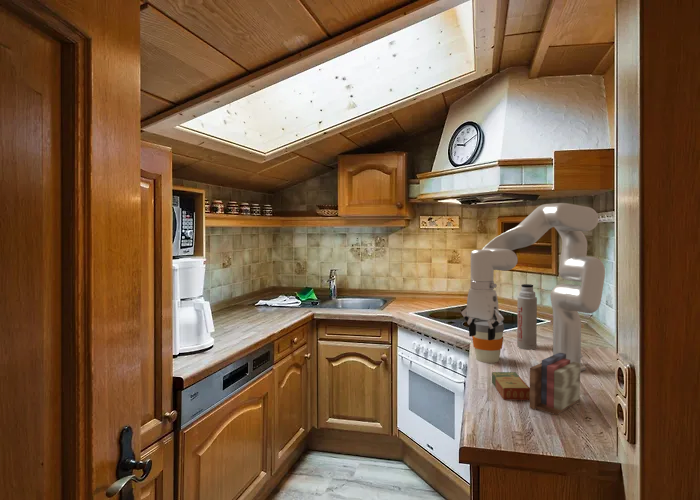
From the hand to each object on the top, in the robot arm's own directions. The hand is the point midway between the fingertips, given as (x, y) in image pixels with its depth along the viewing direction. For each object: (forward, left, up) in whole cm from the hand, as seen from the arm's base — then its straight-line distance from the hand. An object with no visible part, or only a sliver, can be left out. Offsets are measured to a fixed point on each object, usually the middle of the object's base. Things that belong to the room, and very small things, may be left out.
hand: (481, 337), depth 152 cm
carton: (0, +11, -16) cm, 19 cm away
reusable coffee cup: (-25, -13, -16) cm, 33 cm away
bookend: (0, +26, -16) cm, 30 cm away
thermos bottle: (-54, -11, -16) cm, 57 cm away
